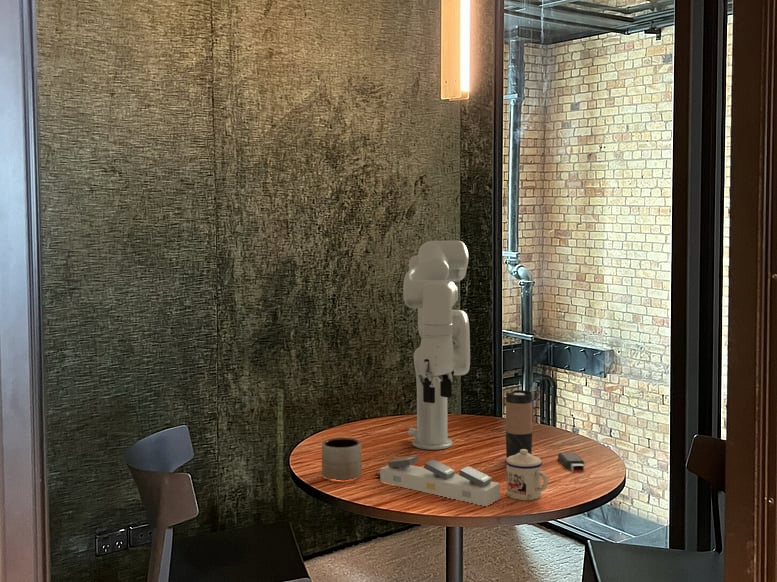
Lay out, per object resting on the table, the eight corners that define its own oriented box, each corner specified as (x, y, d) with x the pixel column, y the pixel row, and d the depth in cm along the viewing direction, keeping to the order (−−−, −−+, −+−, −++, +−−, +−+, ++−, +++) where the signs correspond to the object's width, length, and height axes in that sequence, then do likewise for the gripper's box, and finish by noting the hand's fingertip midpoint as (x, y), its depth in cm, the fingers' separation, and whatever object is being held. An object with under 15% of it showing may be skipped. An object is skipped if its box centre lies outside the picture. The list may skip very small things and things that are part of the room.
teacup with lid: (498, 494, 195) (498, 449, 194) (522, 486, 200) (522, 443, 200) (534, 507, 185) (534, 459, 185) (558, 498, 191) (559, 452, 190)
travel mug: (532, 464, 220) (532, 395, 218) (505, 463, 221) (505, 394, 220) (532, 457, 227) (532, 390, 226) (506, 456, 229) (506, 389, 227)
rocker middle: (423, 467, 198) (424, 462, 198) (432, 464, 201) (433, 459, 201) (446, 479, 194) (447, 474, 194) (454, 475, 197) (455, 470, 197)
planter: (331, 485, 203) (331, 450, 203) (316, 474, 213) (315, 440, 212) (368, 479, 208) (368, 444, 208) (351, 468, 218) (351, 435, 217)
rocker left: (389, 467, 204) (387, 462, 205) (397, 463, 208) (396, 458, 208) (409, 465, 200) (408, 459, 201) (418, 461, 204) (417, 455, 204)
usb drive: (575, 459, 225) (575, 450, 225) (587, 472, 213) (587, 462, 213) (557, 460, 225) (557, 451, 225) (569, 472, 213) (569, 463, 213)
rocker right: (458, 475, 192) (460, 469, 191) (466, 471, 195) (468, 465, 195) (482, 487, 188) (484, 481, 188) (490, 482, 191) (491, 477, 191)
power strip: (368, 480, 207) (367, 462, 207) (383, 473, 213) (383, 456, 212) (486, 507, 186) (486, 487, 185) (500, 498, 191) (500, 479, 191)
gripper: (443, 326, 204) (443, 392, 206) (405, 333, 190) (406, 404, 192) (467, 328, 200) (467, 395, 201) (431, 335, 186) (431, 407, 187)
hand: (437, 399), depth 196 cm, fingers open, 7 cm apart
